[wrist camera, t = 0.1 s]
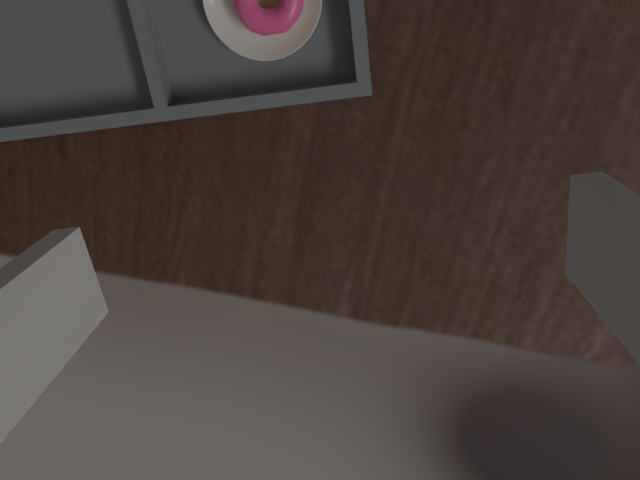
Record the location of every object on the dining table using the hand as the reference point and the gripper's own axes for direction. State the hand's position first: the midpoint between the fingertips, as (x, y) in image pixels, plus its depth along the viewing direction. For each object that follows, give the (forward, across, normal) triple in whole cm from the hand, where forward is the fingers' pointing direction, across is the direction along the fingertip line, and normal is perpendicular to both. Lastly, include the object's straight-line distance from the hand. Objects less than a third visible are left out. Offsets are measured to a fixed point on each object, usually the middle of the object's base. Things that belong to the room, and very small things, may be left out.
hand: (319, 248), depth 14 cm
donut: (+28, -6, +8) cm, 29 cm away
